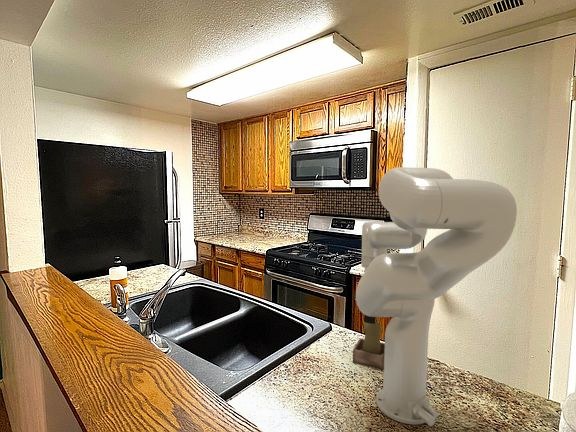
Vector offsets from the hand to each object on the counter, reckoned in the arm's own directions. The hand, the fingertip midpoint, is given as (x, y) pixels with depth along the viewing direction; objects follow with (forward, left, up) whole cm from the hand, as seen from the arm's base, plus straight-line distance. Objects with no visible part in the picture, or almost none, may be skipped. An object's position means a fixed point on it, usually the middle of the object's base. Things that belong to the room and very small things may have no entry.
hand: (373, 317), depth 95 cm
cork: (+1, 0, -13) cm, 13 cm away
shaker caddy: (+1, 0, -13) cm, 13 cm away
